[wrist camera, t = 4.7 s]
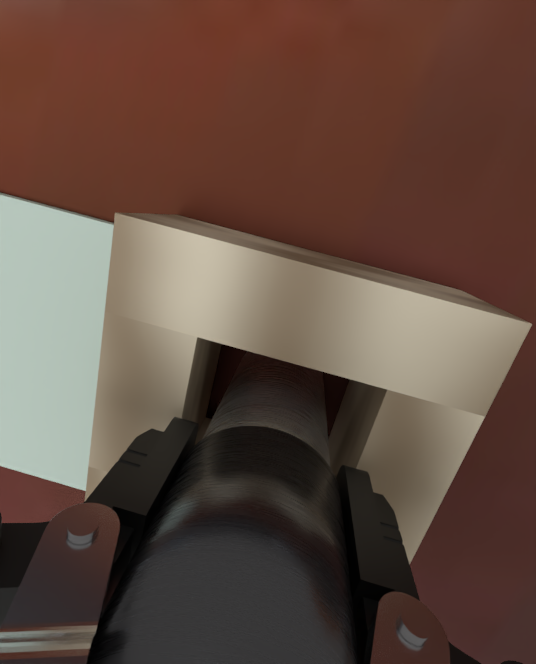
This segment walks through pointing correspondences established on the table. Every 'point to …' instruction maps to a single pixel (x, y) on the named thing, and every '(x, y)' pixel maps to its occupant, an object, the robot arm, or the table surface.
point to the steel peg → (243, 540)
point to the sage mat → (50, 336)
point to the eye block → (299, 351)
